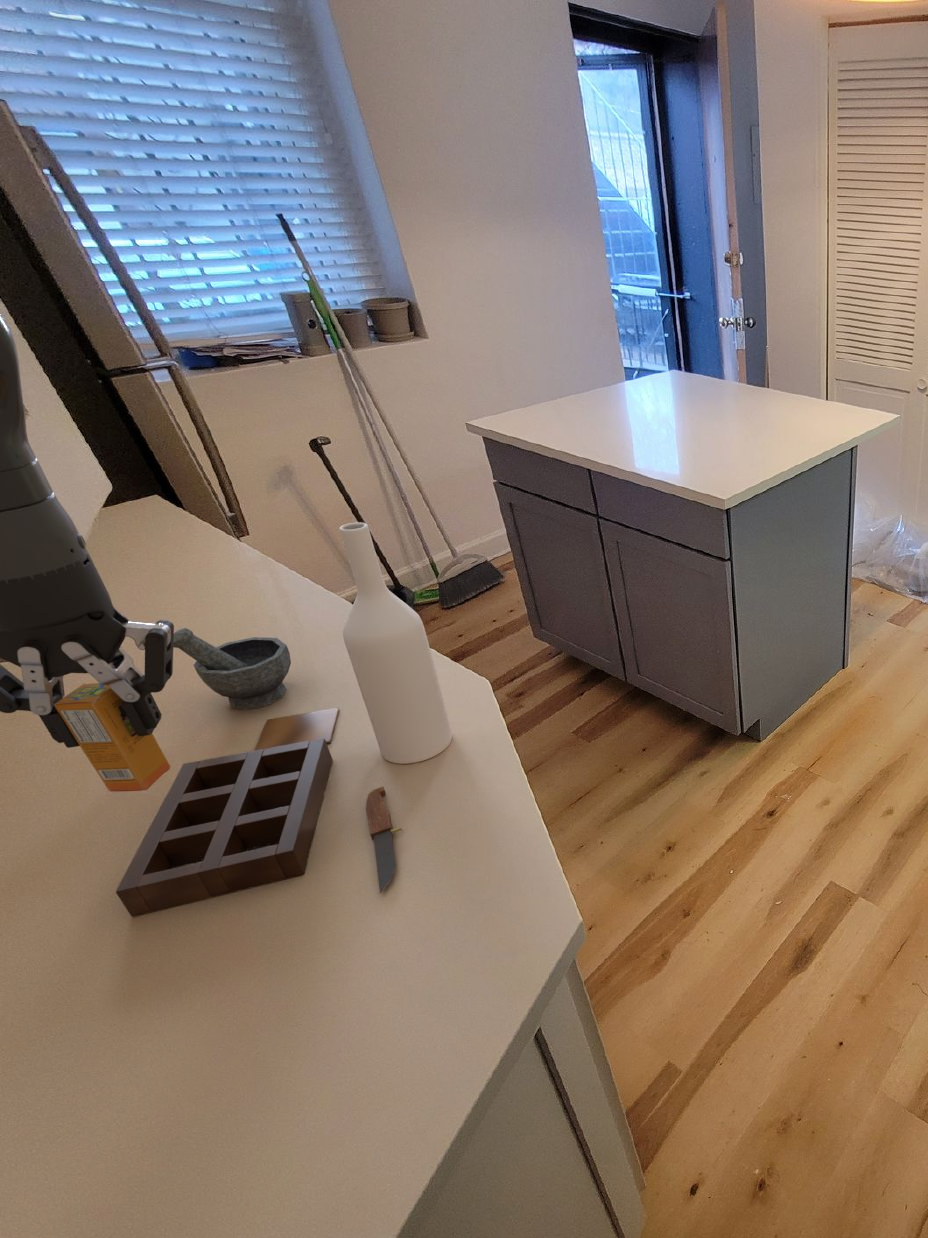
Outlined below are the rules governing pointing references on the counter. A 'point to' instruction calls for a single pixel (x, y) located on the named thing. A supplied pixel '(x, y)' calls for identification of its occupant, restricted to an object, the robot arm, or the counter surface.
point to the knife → (381, 835)
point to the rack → (230, 826)
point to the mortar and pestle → (239, 667)
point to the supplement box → (111, 739)
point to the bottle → (392, 661)
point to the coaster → (298, 728)
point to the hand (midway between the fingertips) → (114, 735)
